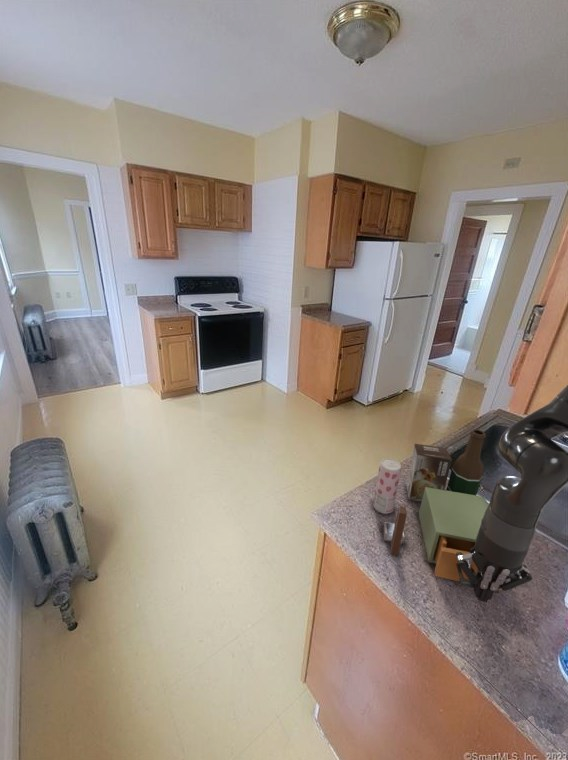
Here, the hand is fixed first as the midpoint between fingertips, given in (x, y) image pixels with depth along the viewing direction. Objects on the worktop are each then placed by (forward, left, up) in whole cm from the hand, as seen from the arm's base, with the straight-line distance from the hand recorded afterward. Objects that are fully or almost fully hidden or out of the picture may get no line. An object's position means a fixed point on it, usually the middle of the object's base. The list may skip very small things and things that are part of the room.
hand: (481, 597), depth 64 cm
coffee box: (+5, -34, -5) cm, 35 cm away
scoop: (+15, -14, -5) cm, 21 cm away
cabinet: (0, -18, -5) cm, 18 cm away
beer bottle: (-5, -34, -5) cm, 35 cm away
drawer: (0, -11, -4) cm, 11 cm away
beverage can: (+17, -26, -5) cm, 31 cm away
